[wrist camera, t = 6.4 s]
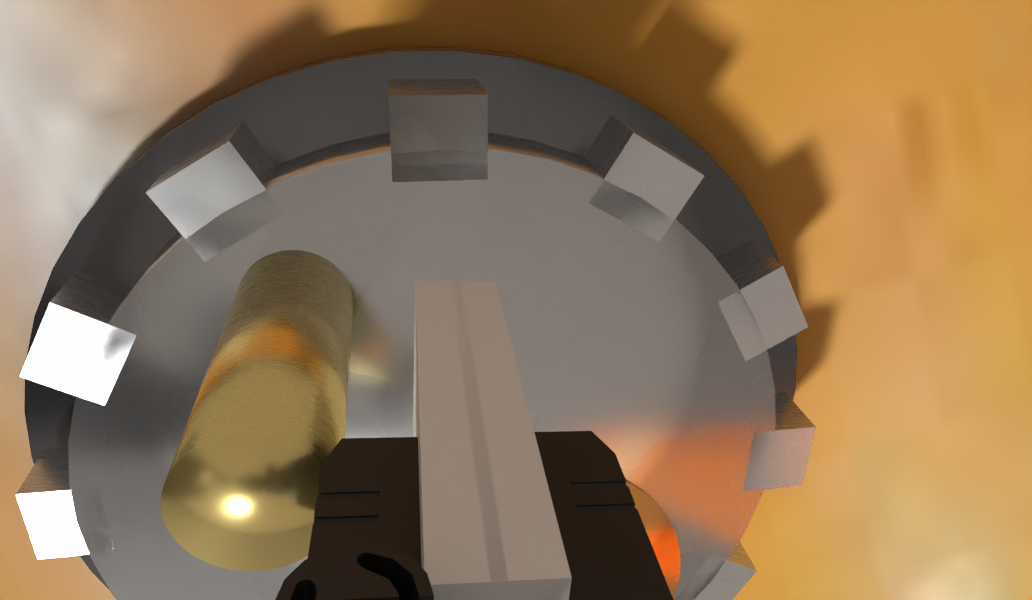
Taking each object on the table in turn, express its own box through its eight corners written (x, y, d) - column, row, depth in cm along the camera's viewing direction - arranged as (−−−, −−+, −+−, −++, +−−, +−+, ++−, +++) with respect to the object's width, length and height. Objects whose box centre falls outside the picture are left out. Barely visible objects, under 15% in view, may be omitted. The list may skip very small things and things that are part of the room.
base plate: (-83, 560, 19) (-96, 578, 19) (266, -164, 14) (262, -169, 13) (531, 738, 26) (535, 755, 26) (924, 303, 21) (938, 313, 20)
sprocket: (346, 775, 24) (334, 1106, 17) (-156, 367, 16) (-547, 694, 9) (865, 504, 23) (1072, 752, 16) (605, -104, 14) (807, -127, 8)
